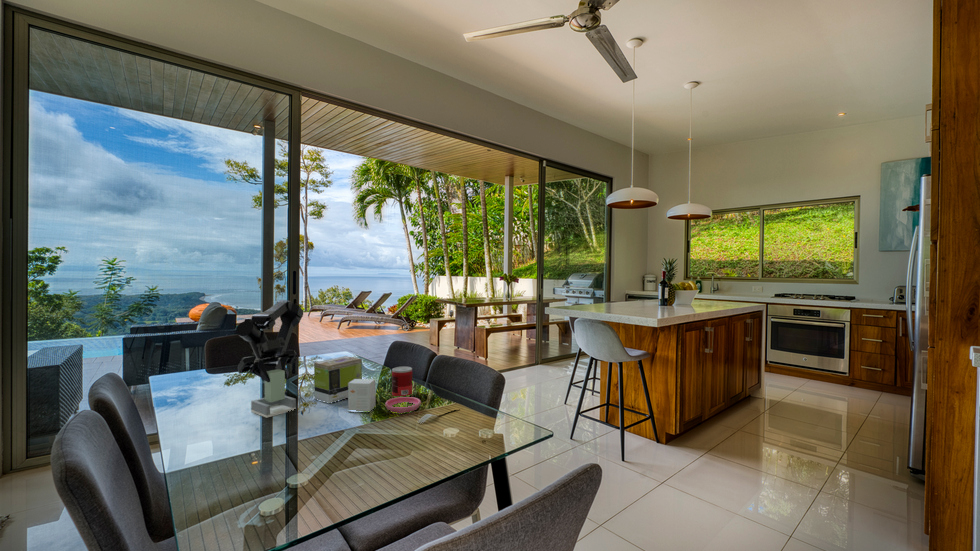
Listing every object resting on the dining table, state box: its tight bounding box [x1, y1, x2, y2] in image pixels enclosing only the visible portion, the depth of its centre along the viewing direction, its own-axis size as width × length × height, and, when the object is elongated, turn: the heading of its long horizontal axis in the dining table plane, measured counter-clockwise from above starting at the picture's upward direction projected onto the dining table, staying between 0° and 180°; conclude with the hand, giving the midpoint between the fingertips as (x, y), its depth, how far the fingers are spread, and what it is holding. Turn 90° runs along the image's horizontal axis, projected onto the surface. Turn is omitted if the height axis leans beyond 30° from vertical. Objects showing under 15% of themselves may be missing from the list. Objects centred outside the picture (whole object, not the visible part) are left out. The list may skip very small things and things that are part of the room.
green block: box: [264, 369, 286, 402], centre depth 150 cm, size 4×5×10 cm
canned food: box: [391, 366, 413, 397], centre depth 168 cm, size 8×8×11 cm
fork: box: [418, 413, 436, 423], centre depth 146 cm, size 3×21×3 cm, turn 143°
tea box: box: [313, 355, 363, 404], centre depth 166 cm, size 15×10×15 cm
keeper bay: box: [250, 395, 297, 418], centre depth 150 cm, size 10×10×4 cm
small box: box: [347, 378, 376, 412], centre depth 151 cm, size 8×6×10 cm
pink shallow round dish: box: [384, 396, 422, 413], centre depth 153 cm, size 12×12×3 cm
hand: (276, 380), depth 149 cm, fingers closed on green block, 5 cm apart
